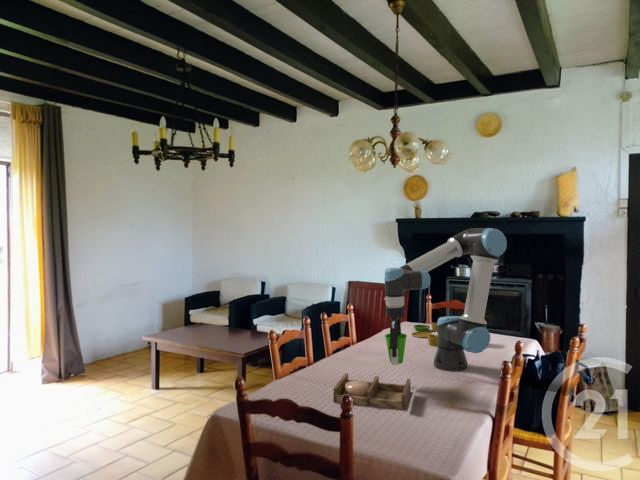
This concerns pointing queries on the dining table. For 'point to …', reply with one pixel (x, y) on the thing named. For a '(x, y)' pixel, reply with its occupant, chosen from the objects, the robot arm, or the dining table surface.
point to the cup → (400, 345)
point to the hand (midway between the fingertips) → (396, 360)
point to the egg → (356, 388)
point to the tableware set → (426, 333)
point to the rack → (377, 394)
